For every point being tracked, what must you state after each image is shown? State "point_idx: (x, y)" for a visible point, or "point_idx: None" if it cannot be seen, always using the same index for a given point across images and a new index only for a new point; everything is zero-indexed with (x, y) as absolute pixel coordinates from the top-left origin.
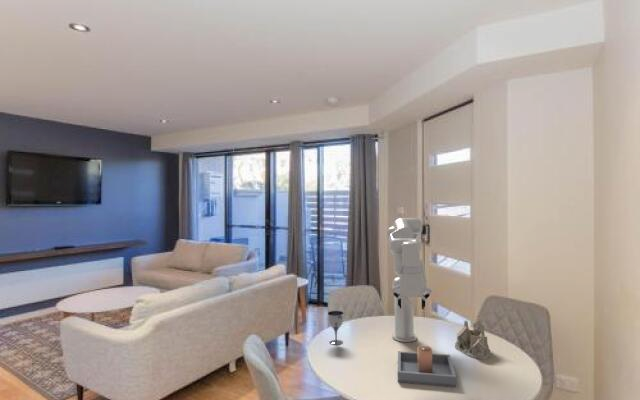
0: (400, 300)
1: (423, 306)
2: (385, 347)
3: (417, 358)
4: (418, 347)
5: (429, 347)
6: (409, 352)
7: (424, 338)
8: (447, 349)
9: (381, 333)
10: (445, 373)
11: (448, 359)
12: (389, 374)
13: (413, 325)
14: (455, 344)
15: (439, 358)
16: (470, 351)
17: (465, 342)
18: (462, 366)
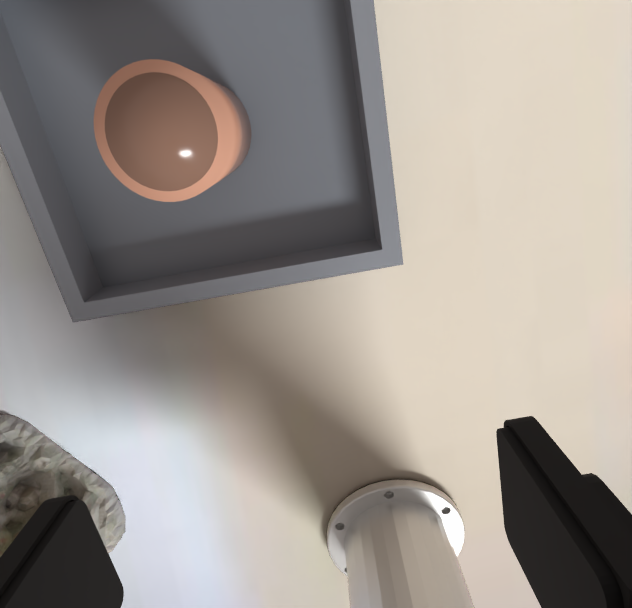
0: (618, 567)
1: (19, 543)
2: (485, 387)
3: (237, 113)
4: (219, 143)
5: (128, 177)
6: (324, 269)
7: (290, 552)
8: (151, 468)
9: None
10: (75, 131)
11: (59, 248)
12: (421, 14)
13: (350, 603)
14: (112, 515)
15: (137, 286)
16: (14, 457)
17: None
18: (26, 294)
